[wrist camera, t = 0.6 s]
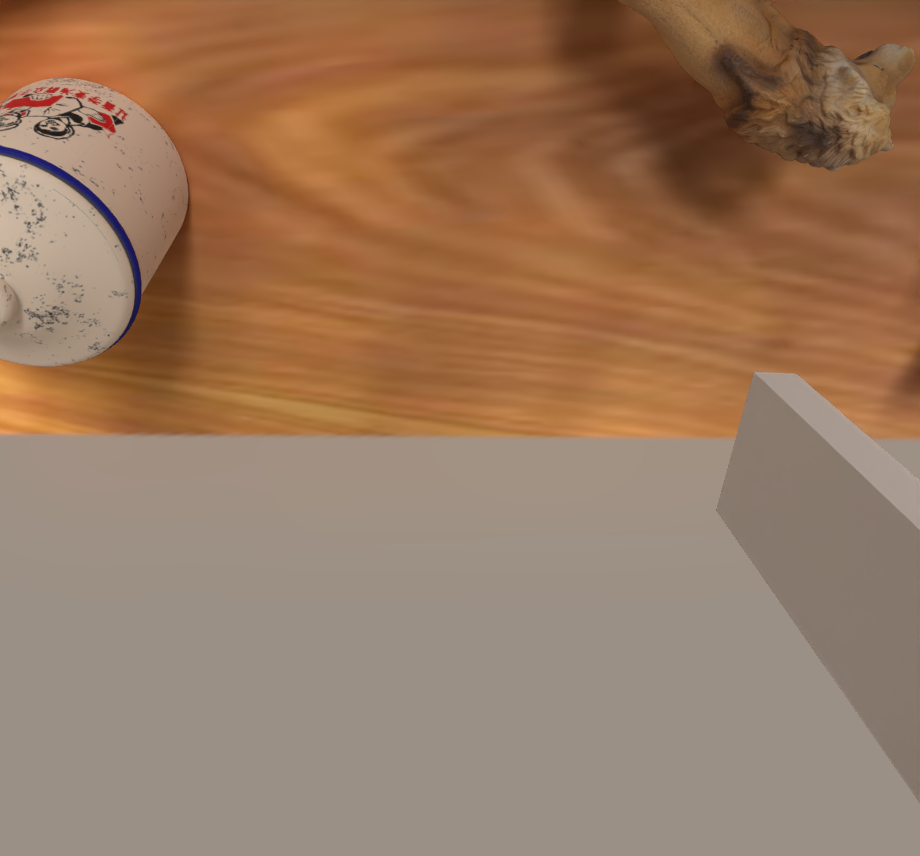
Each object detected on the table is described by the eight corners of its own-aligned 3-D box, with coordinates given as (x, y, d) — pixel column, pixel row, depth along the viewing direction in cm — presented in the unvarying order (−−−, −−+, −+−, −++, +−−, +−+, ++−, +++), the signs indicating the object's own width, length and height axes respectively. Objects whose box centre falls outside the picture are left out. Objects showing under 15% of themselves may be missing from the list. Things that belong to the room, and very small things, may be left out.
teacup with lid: (143, 48, 35) (30, 157, 26) (226, 244, 40) (156, 390, 31) (-115, 106, 36) (-307, 228, 27) (-1, 287, 42) (-129, 438, 33)
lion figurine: (866, 17, 34) (969, 90, 27) (774, 132, 37) (845, 224, 30) (560, -205, 29) (588, -186, 22) (483, -54, 32) (487, 4, 25)
